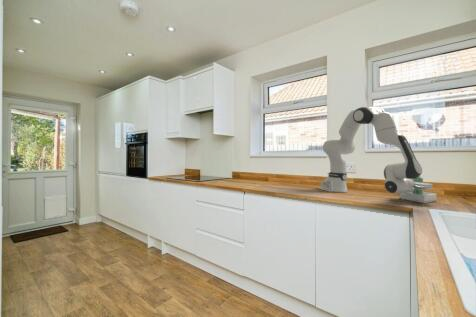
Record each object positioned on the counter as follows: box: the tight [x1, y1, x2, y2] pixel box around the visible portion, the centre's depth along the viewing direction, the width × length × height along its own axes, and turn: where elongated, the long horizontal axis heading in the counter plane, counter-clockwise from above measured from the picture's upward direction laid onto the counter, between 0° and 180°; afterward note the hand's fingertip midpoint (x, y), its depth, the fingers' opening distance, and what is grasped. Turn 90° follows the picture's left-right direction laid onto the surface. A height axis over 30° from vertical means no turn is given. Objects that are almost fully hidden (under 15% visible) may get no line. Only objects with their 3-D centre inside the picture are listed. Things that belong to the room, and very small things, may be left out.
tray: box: [398, 191, 438, 204], centre depth 146 cm, size 14×14×4 cm
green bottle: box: [413, 174, 424, 195], centre depth 145 cm, size 5×5×15 cm
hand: (418, 184), depth 146 cm, fingers open, 8 cm apart
